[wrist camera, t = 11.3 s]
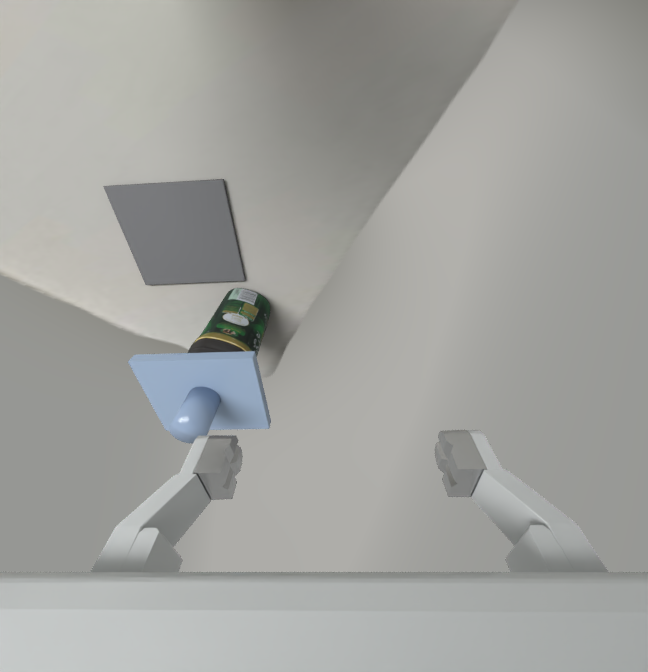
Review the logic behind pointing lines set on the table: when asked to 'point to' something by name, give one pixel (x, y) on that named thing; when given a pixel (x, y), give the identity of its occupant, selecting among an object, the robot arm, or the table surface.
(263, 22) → the table surface
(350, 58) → the table surface
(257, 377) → the lid
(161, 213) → the mat
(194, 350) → the coffee jar
